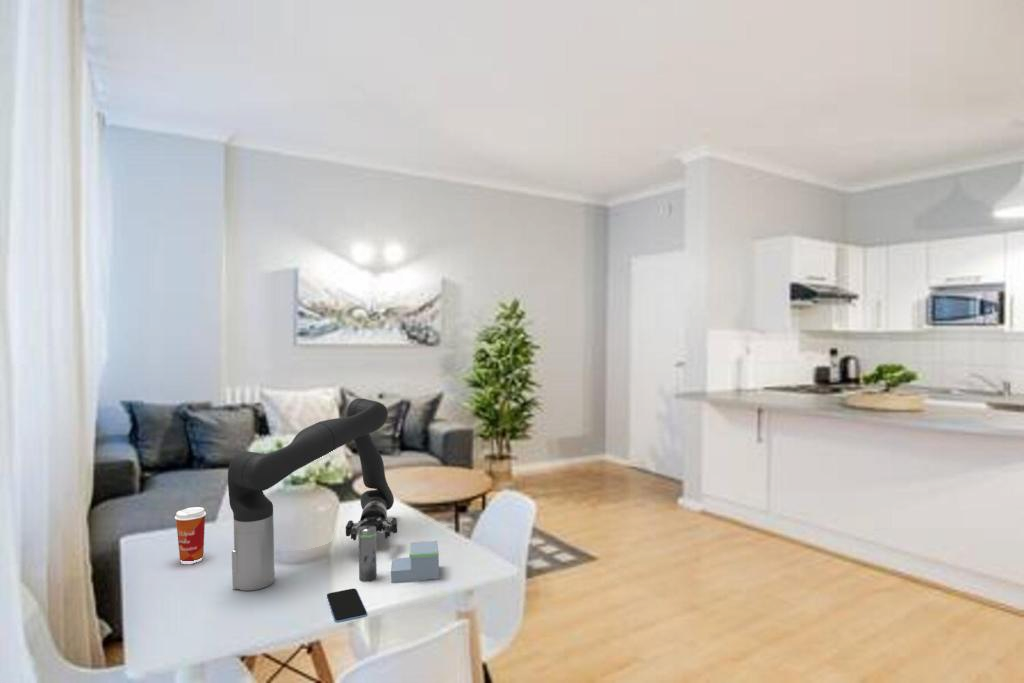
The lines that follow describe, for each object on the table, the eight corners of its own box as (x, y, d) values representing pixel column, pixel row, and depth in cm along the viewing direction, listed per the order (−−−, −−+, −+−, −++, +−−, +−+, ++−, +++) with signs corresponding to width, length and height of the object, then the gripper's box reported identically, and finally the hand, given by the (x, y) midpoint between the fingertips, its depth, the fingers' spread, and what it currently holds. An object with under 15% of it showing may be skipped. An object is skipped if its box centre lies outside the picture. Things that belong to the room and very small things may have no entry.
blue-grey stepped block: (391, 583, 150) (390, 556, 150) (392, 569, 159) (391, 543, 158) (438, 579, 152) (438, 552, 152) (437, 566, 161) (437, 540, 160)
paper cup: (169, 563, 163) (168, 513, 163) (193, 553, 170) (192, 505, 170) (190, 568, 160) (188, 516, 160) (214, 557, 167) (212, 508, 167)
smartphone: (356, 587, 148) (368, 614, 134) (356, 590, 148) (368, 617, 134) (325, 593, 145) (334, 621, 131) (325, 596, 145) (334, 625, 131)
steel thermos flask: (358, 582, 151) (357, 531, 151) (359, 574, 156) (358, 525, 155) (376, 581, 152) (375, 530, 151) (377, 573, 156) (376, 524, 156)
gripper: (349, 505, 179) (343, 524, 163) (397, 503, 181) (396, 521, 165) (349, 530, 179) (343, 551, 163) (398, 527, 181) (396, 547, 165)
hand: (370, 536), depth 164 cm, fingers open, 8 cm apart
